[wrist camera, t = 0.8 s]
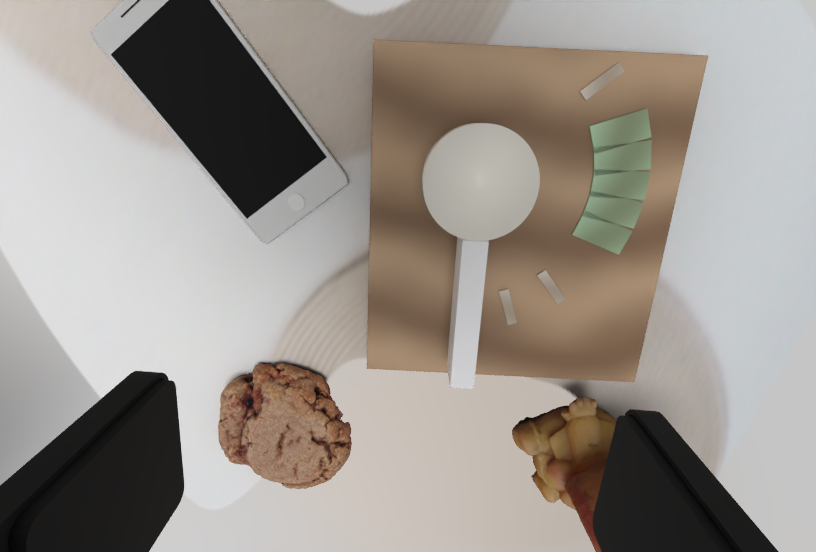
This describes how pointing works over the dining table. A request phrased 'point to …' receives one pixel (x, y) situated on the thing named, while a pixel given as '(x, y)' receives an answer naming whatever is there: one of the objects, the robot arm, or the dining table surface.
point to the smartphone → (222, 108)
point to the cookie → (284, 426)
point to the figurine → (569, 454)
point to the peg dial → (476, 218)
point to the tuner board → (551, 214)
